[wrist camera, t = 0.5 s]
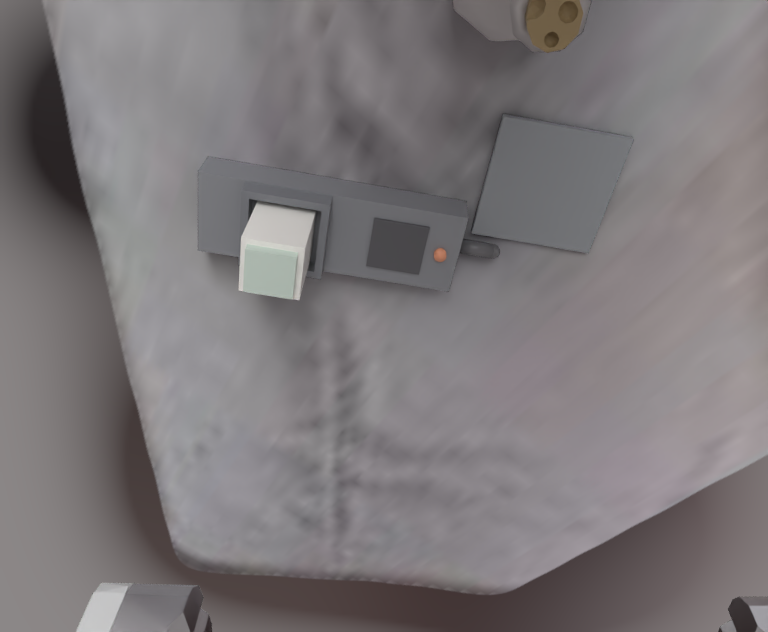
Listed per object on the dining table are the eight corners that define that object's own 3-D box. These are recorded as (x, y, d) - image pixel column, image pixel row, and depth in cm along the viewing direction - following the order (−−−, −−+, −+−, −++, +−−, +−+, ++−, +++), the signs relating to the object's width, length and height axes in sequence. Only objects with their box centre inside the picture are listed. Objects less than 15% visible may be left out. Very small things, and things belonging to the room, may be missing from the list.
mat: (502, 113, 50) (503, 116, 50) (631, 136, 51) (633, 139, 50) (471, 229, 56) (471, 233, 56) (587, 249, 57) (588, 253, 56)
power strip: (208, 156, 53) (192, 179, 50) (509, 208, 55) (515, 235, 51) (207, 232, 57) (192, 259, 54) (487, 279, 59) (492, 309, 55)
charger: (259, 197, 52) (238, 242, 46) (316, 207, 52) (303, 253, 46) (256, 247, 55) (236, 295, 49) (311, 256, 55) (298, 305, 49)
